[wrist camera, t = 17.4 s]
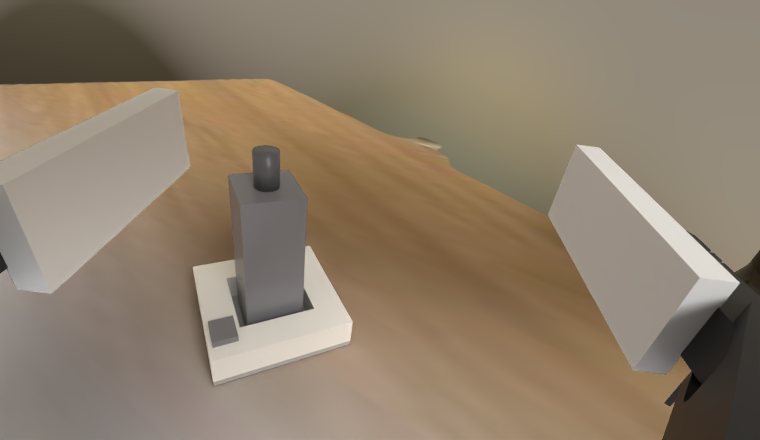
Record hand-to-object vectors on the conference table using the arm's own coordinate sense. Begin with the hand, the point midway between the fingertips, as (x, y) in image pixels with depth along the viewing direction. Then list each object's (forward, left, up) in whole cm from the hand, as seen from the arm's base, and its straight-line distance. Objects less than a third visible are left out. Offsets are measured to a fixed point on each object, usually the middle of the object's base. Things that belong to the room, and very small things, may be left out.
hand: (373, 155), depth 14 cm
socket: (-1, -17, -25) cm, 30 cm away
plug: (0, -17, -24) cm, 30 cm away
